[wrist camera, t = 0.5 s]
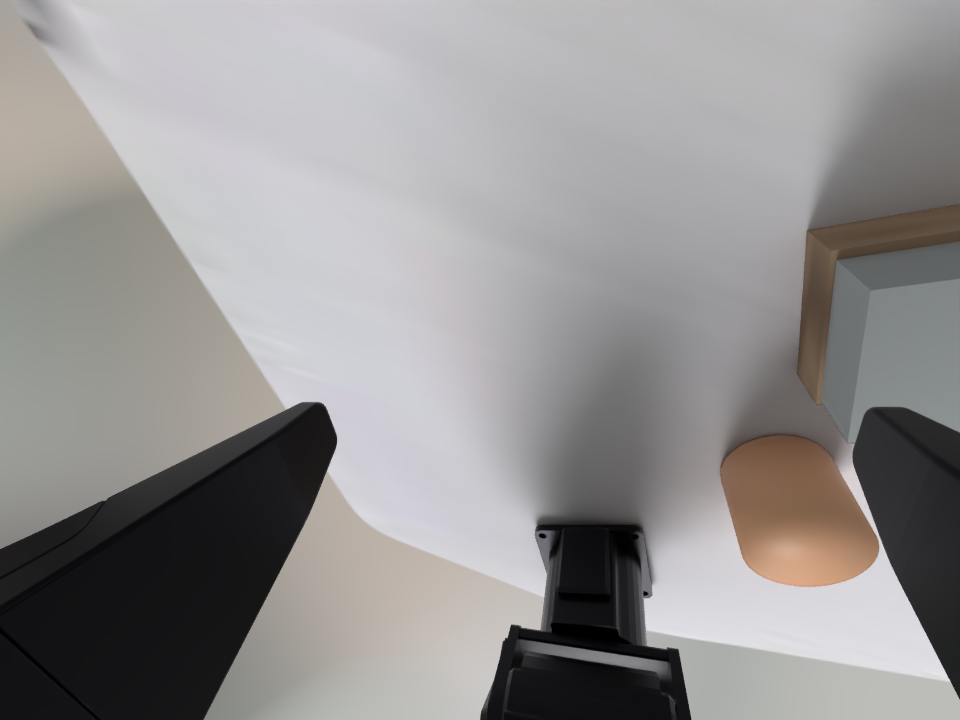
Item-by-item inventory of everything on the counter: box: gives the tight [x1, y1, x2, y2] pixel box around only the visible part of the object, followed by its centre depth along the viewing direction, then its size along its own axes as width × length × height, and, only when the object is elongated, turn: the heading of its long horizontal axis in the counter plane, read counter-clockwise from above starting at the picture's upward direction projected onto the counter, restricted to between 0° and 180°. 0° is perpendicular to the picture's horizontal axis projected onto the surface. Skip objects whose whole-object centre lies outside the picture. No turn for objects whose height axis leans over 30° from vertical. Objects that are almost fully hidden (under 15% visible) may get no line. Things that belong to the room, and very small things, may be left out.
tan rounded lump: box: [720, 435, 879, 587], centre depth 22 cm, size 5×5×4 cm
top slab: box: [821, 241, 960, 444], centre depth 15 cm, size 6×6×2 cm
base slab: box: [797, 204, 960, 405], centre depth 17 cm, size 6×6×2 cm
